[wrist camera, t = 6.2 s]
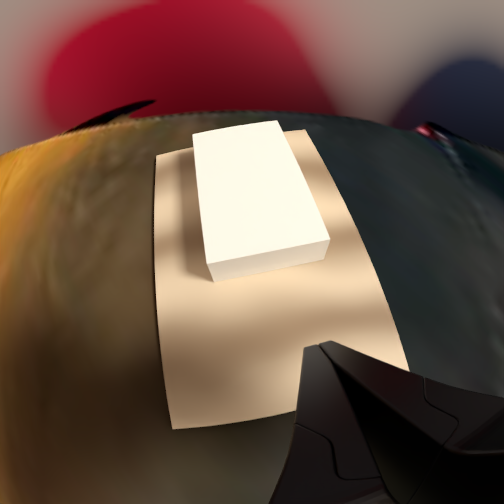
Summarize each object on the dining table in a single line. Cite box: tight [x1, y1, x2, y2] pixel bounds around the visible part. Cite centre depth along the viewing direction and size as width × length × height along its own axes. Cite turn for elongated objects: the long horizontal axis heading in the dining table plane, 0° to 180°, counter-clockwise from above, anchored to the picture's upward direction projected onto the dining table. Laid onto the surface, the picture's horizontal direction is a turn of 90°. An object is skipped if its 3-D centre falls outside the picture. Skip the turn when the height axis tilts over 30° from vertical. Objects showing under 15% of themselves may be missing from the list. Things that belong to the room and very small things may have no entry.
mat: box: [154, 130, 409, 429], centre depth 19 cm, size 22×14×1 cm, turn 11°
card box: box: [193, 121, 330, 282], centre depth 19 cm, size 2×7×12 cm
